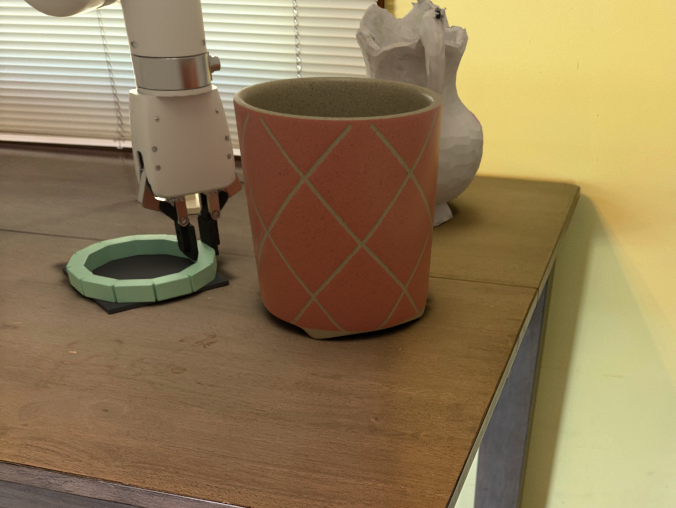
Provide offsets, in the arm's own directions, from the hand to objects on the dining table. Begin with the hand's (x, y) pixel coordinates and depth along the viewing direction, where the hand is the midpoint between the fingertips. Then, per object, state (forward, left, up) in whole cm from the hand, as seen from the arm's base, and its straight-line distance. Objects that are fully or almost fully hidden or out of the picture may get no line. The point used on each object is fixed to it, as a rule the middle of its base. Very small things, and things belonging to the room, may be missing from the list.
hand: (200, 253), depth 89 cm
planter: (+7, -19, -2) cm, 21 cm away
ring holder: (+9, +22, -1) cm, 24 cm away
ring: (-7, 0, -1) cm, 7 cm away
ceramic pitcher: (+32, 0, -2) cm, 32 cm away
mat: (-7, 0, -1) cm, 7 cm away
